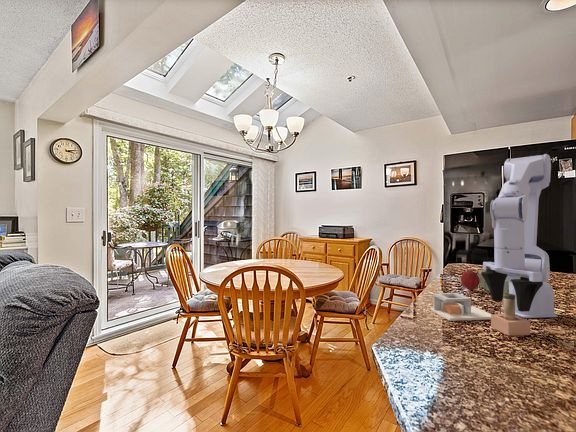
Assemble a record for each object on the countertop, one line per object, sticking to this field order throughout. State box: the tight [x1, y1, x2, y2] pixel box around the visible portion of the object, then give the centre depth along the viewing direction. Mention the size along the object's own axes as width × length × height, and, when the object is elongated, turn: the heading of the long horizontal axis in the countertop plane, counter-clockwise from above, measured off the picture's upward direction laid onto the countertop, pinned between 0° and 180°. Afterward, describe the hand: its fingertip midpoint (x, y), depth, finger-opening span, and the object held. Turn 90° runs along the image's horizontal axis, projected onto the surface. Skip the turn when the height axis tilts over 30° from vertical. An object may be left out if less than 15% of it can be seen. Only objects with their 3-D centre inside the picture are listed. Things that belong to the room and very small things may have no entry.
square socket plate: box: [429, 292, 493, 322], centre depth 81 cm, size 13×9×5 cm
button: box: [444, 303, 460, 314], centre depth 80 cm, size 3×3×2 cm
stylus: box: [502, 293, 516, 321], centre depth 69 cm, size 2×2×8 cm
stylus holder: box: [490, 313, 531, 337], centre depth 69 cm, size 5×5×3 cm
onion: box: [460, 267, 480, 291], centre depth 106 cm, size 6×6×8 cm
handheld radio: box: [477, 269, 509, 294], centre depth 100 cm, size 7×3×25 cm
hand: (509, 305), depth 69 cm, fingers open, 7 cm apart
